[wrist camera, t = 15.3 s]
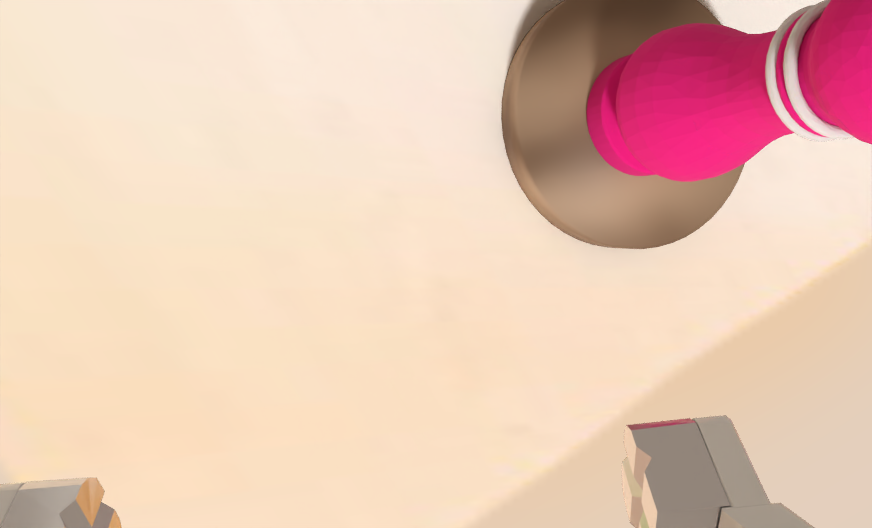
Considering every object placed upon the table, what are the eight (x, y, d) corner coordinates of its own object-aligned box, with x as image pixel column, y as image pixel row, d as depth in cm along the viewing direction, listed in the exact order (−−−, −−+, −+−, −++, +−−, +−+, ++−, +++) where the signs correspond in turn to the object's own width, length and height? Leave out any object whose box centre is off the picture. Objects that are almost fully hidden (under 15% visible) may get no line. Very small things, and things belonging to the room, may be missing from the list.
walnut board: (460, 43, 40) (474, 33, 38) (677, -48, 44) (700, -60, 42) (561, 290, 42) (579, 293, 40) (759, 185, 46) (783, 184, 44)
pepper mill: (560, 163, 40) (909, 109, 21) (596, 25, 40) (972, -152, 21) (678, 201, 42) (1089, 185, 23) (711, 71, 42) (1144, -51, 23)
